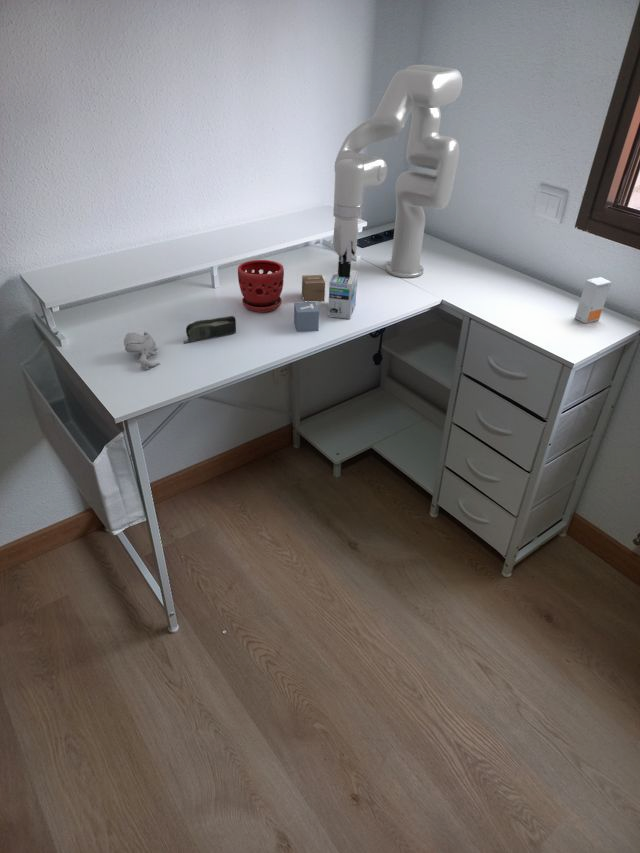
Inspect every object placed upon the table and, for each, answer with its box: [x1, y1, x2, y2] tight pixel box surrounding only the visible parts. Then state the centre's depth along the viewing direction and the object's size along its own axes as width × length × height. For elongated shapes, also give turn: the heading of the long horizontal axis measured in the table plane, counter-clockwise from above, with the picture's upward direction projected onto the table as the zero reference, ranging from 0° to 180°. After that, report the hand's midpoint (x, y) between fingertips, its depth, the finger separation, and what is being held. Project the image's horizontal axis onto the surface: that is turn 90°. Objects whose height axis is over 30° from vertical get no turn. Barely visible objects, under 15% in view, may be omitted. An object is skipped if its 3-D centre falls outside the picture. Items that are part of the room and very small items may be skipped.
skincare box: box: [574, 276, 613, 324], centre depth 180 cm, size 6×4×12 cm
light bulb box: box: [327, 267, 359, 320], centre depth 180 cm, size 11×7×11 cm, turn 168°
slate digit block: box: [293, 301, 320, 333], centre depth 172 cm, size 6×6×6 cm
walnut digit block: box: [301, 274, 326, 302], centre depth 188 cm, size 6×6×6 cm
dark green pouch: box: [183, 315, 237, 344], centre depth 166 cm, size 5×3×15 cm
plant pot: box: [237, 259, 285, 313], centre depth 181 cm, size 13×13×12 cm
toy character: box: [123, 331, 161, 370], centre depth 155 cm, size 6×9×12 cm
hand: (343, 275), depth 176 cm, fingers closed
